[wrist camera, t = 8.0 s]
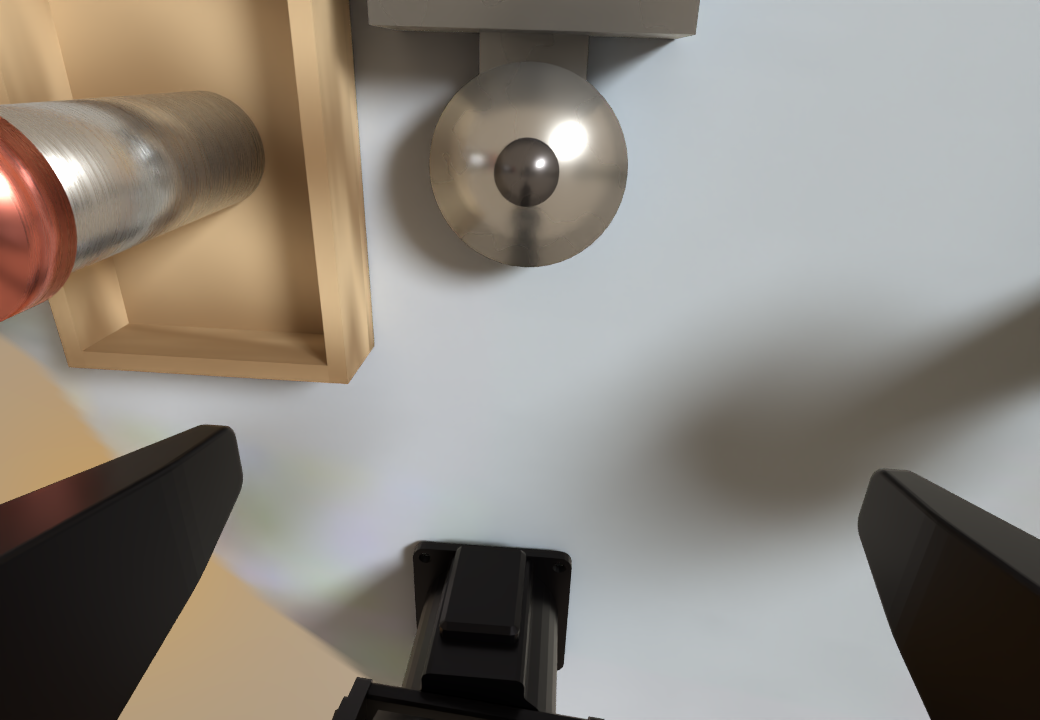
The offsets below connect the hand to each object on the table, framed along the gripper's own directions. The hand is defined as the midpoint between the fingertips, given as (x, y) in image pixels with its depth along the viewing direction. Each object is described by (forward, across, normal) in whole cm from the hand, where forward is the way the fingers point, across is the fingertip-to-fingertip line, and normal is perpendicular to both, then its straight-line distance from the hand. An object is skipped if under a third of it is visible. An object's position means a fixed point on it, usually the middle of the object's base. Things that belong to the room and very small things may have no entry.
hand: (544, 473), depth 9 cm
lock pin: (+12, +11, -2) cm, 17 cm away
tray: (+13, +11, -2) cm, 17 cm away
